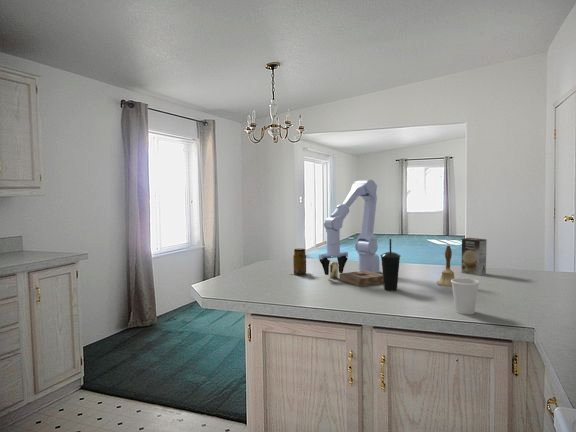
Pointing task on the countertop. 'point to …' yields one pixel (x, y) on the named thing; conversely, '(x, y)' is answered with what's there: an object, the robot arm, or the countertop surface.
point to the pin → (333, 270)
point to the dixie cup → (465, 295)
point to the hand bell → (447, 270)
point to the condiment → (299, 262)
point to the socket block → (361, 278)
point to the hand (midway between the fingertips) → (333, 273)
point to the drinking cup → (390, 269)
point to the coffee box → (474, 256)
